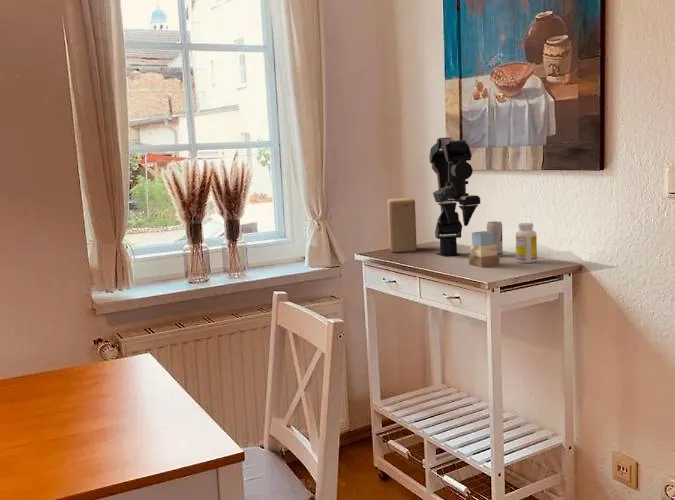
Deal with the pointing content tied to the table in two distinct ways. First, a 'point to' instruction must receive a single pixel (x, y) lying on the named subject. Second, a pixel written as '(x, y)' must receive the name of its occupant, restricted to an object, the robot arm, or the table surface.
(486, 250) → the mid block
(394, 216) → the wooden block
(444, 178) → the robot arm
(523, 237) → the supplement bottle
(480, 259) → the base block
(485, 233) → the top block
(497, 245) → the energy drink
